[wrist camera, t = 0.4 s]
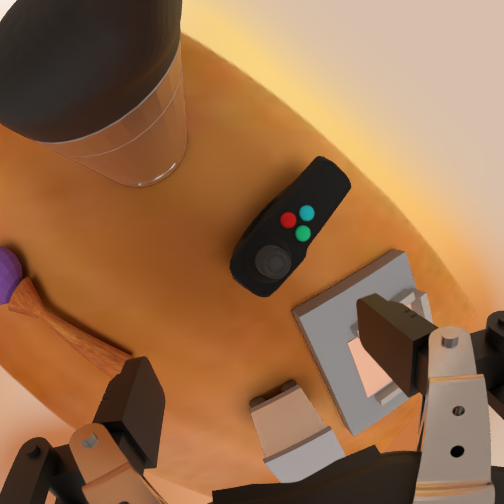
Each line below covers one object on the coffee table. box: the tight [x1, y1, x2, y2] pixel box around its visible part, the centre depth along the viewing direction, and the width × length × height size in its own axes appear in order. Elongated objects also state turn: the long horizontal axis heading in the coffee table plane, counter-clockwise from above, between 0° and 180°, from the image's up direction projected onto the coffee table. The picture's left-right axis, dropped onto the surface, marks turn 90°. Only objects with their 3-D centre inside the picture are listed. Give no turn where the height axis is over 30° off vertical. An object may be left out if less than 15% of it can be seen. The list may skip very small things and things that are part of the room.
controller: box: [229, 156, 351, 297], centre depth 24 cm, size 4×12×10 cm, turn 139°
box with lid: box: [249, 381, 346, 483], centre depth 26 cm, size 5×6×11 cm
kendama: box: [0, 246, 133, 379], centre depth 24 cm, size 6×6×20 cm
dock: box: [291, 249, 433, 437], centre depth 31 cm, size 20×14×5 cm
